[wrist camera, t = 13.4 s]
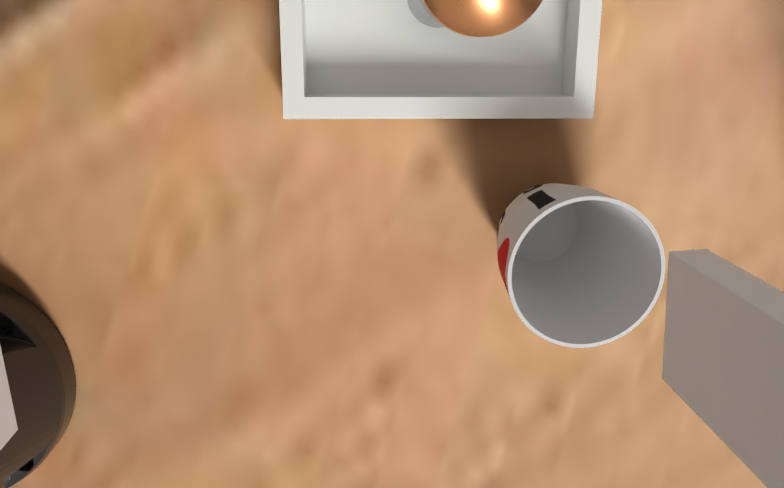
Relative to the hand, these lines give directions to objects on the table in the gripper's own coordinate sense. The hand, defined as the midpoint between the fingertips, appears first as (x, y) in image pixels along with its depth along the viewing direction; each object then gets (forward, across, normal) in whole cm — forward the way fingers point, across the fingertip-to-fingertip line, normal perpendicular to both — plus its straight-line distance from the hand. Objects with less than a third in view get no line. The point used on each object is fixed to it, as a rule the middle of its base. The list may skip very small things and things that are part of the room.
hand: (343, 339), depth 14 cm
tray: (+32, +6, +8) cm, 33 cm away
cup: (+32, +12, -6) cm, 35 cm away
